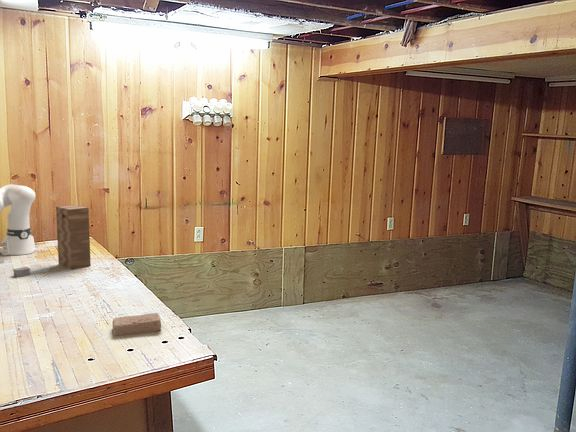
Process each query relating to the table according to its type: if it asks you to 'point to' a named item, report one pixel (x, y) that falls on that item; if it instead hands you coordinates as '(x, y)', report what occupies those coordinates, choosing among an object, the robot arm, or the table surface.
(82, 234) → the post
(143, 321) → the brick
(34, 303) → the table surface
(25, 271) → the grey stepped bar
